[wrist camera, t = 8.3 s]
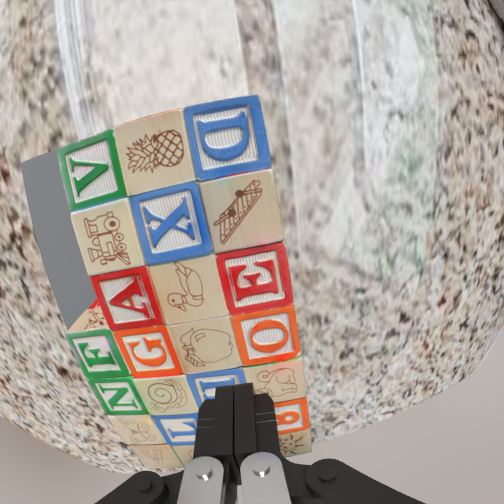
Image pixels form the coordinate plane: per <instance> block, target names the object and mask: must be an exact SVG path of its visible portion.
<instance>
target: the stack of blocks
mask: <svg viewBox="0 0 504 504" xmlns="http://www.w3.org/2000/svg"><path fill="white" fill-rule="evenodd" d="M57 156H58V161H59V166H60V172H61V177H62V181H63V185H64V189H65V194H66V198H67V202H68V206H69V209H70V211H71V221H72V224H73V228H74V231H75V234H76V238H77V241H78V244H79V247H80V251H81V254H82V257H83V260H84V264H85V267H86V270H87V273H88V275H89V276H90V278H91V281H92V284H93V288H94V290H95V293H96V296H97V299H96V300H95V301H94V303H93V304H92V305H91V306H90V307H89V308H88V309H87V310H85V311H84V312H83V314H82V315H81V316H80V317H79V318H78V319H77V320H76V322H75V323H74V324H73V325H72V326H71V327H70V329H69V330H68V331H67V332H66V333H65V336H66V338H67V341H68V343H69V345H70V347H71V349H72V351H73V353H74V355H75V357H76V359H77V361H78V363H79V365H80V367H81V369H82V371H83V373H84V375H85V376H86V377H87V378H88V383H89V385H90V387H91V388H92V390H93V392H94V394H95V396H96V398H97V399H98V401H99V402H100V404H101V406H102V408H103V409H104V411H105V413H107V414H108V418H109V419H110V421H111V423H112V424H113V426H114V427H115V429H116V430H117V432H118V433H119V435H120V436H121V438H122V439H123V440H124V442H125V443H127V444H129V445H130V447H131V449H132V450H133V451H134V453H135V454H136V455H137V456H138V458H139V459H140V460H141V462H142V463H143V464H144V466H145V467H146V468H185V467H186V465H187V464H188V463H189V462H190V461H192V459H193V453H194V444H195V435H196V429H197V421H198V411H199V408H200V406H201V405H202V403H203V402H204V400H205V399H215V389H216V386H225V385H234V386H235V384H243V383H251V382H253V385H254V390H255V394H262V393H268V395H269V396H270V397H271V398H272V400H273V401H274V408H275V414H276V421H277V428H278V435H279V442H280V450H281V454H282V455H283V457H284V458H285V457H291V456H294V455H300V454H304V453H309V452H311V451H312V444H311V433H310V422H309V413H308V404H307V398H306V388H305V380H304V371H303V362H302V357H301V349H300V343H299V337H298V329H297V322H296V315H295V307H294V302H293V292H292V285H291V278H290V271H289V264H288V258H287V252H286V246H285V242H284V234H283V228H282V222H281V216H280V210H279V204H278V198H277V192H276V186H275V180H274V175H273V170H272V164H271V157H270V151H269V145H268V140H267V135H266V129H265V124H264V119H263V114H262V108H261V104H260V99H259V96H258V95H248V96H241V97H235V98H229V99H223V100H218V101H213V102H208V103H203V104H198V105H193V106H188V107H185V108H183V109H182V108H178V109H174V110H170V111H166V112H162V113H158V114H154V115H150V116H147V117H143V118H140V119H137V120H133V121H130V122H127V123H124V124H121V125H118V126H115V127H114V129H109V130H105V131H102V132H100V133H97V134H94V135H91V136H89V137H86V138H84V139H81V140H78V141H76V142H73V143H71V144H68V145H66V146H64V147H61V148H59V149H57Z"/></svg>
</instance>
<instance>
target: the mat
mask: <svg viewBox="0 0 504 504" xmlns="http://www.w3.org/2000/svg"><path fill="white" fill-rule="evenodd" d="M21 167H22V173H23V179H24V185H25V190H26V195H27V200H28V205H29V210H30V214H31V218H32V223H33V227H34V231H35V235H36V238H37V242H38V246H39V249H40V253H41V256H42V260H43V263H44V266H45V269H46V273H47V276H48V279H49V282H50V285H51V288H52V290H53V293H54V296H55V299H56V302H57V304H58V307H59V309H60V312H61V315H62V317H63V320H64V322H65V325H66V327H67V329H68V330H69V329H70V327H71V326H72V325H73V324H74V323H75V322H76V320H77V319H78V318H79V317H80V316H81V315H82V314H83V312H84V311H85V310H87V309H88V308H89V307H90V306H91V305H92V304H93V303H94V301H95V300H96V299H97V296H96V293H95V290H94V288H93V284H92V281H91V278H90V276H89V275H88V273H87V270H86V267H85V264H84V260H83V257H82V254H81V251H80V247H79V244H78V241H77V238H76V234H75V231H74V228H73V224H72V221H71V211H70V209H69V206H68V202H67V198H66V194H65V189H64V185H63V181H62V177H61V172H60V166H59V161H58V156H57V149H56V150H53V151H51V152H48V153H45V154H43V155H40V156H37V157H35V158H32V159H30V160H27V161H25V162H23V163H21Z"/></svg>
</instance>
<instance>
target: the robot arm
mask: <svg viewBox="0 0 504 504" xmlns="http://www.w3.org/2000/svg"><path fill="white" fill-rule="evenodd" d="M489 1H490V3H491V5H492V7H493V8H494V10H495V12H496V13H497V15H498V16H499V18H500V19H501V20H502V22H503V23H504V0H489ZM237 485H242V489H243V496H244V504H425V503H423V502H420V501H418V500H416V499H414V498H411V497H409V496H407V495H405V494H403V493H401V492H398V491H396V490H394V489H392V488H390V487H388V486H386V485H384V484H382V483H380V482H378V481H376V480H374V479H372V478H370V477H368V476H366V475H364V474H363V473H361V472H359V471H357V470H355V469H353V468H352V467H350V466H348V465H346V464H345V463H343V462H341V461H339V460H336V459H322V460H319V461H317V462H315V463H313V464H312V465H301V464H295V463H292V462H290V461H288V460H287V459H285V458H284V457H283V455H282V454H281V450H280V442H279V435H278V428H277V421H276V414H275V408H274V401H273V400H272V398H271V397H270V396H269V395H268V393H262V394H255V390H254V385H253V382H251V383H243V384H235V386H234V385H225V386H216V389H215V399H205V400H204V402H203V403H202V405H201V406H200V408H199V411H198V421H197V429H196V435H195V444H194V453H193V459H192V461H190V462H189V463H188V464H187V465H186V467H185V469H184V470H183V471H181V472H178V473H175V474H172V475H167V476H163V477H160V476H159V475H158V474H157V473H155V472H151V471H141V472H138V473H136V474H134V475H133V476H132V477H130V478H129V479H128V480H126V481H125V482H124V483H122V484H121V485H120V486H118V487H117V488H116V489H114V490H113V491H112V492H110V493H109V494H107V495H106V496H105V497H103V498H102V499H101V500H99V501H98V502H96V503H95V504H238V499H237Z"/></svg>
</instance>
